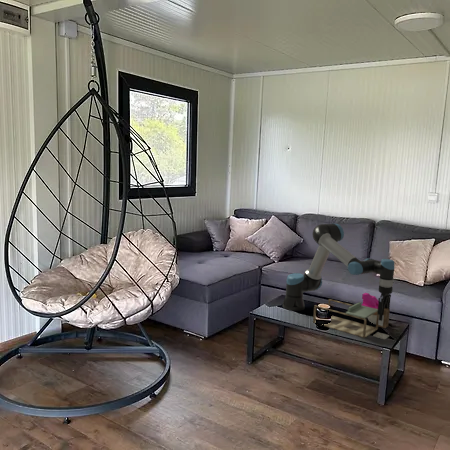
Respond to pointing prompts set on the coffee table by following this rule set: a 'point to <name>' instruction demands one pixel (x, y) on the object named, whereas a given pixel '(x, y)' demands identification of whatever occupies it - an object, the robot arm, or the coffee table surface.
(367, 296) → the bracket
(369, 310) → the cover
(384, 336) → the tile
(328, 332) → the coffee table surface
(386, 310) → the block
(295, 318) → the coffee table surface
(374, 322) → the lidded jar
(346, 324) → the open box frame
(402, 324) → the coffee table surface
